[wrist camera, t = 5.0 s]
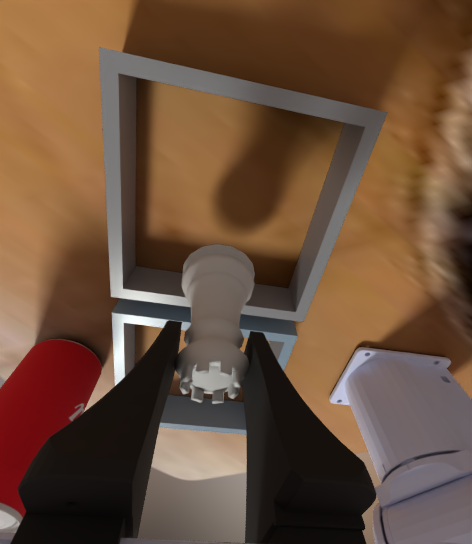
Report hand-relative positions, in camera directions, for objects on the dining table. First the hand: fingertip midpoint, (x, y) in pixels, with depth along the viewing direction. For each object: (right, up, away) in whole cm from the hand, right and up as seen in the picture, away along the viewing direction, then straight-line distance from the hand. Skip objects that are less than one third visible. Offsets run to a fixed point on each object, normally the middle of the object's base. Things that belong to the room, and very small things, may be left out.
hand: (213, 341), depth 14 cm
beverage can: (-14, -5, +13) cm, 20 cm away
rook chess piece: (0, +4, +4) cm, 6 cm away
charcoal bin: (0, +8, +6) cm, 10 cm away
